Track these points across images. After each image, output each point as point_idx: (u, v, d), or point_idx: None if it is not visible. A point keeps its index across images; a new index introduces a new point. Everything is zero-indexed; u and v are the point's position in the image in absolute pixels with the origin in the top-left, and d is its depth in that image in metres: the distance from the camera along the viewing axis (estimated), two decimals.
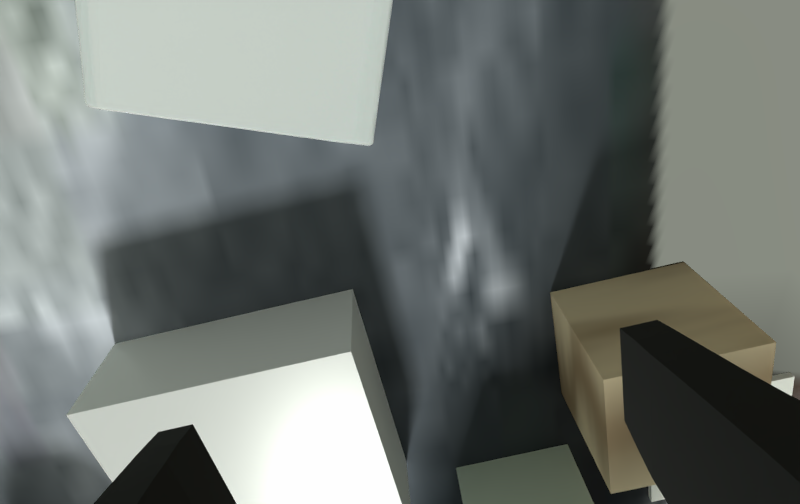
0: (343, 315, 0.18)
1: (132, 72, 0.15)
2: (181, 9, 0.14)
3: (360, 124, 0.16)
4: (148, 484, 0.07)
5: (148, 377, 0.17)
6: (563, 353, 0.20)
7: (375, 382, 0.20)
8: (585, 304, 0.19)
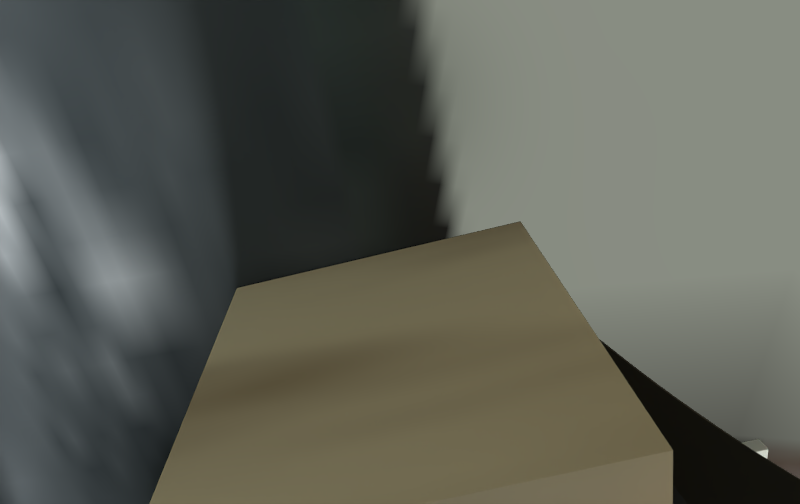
0: None
1: None
2: None
3: None
4: None
5: None
6: None
7: None
8: (275, 317, 0.08)
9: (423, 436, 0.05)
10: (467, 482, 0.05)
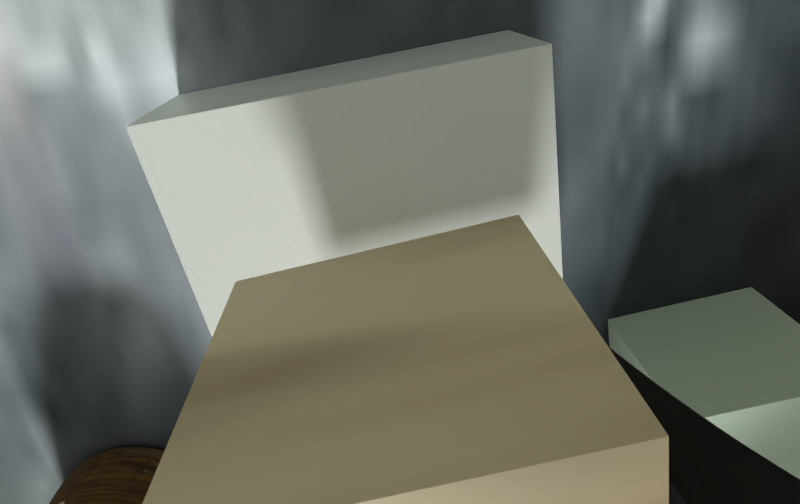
0: (512, 37, 0.13)
1: None
2: None
3: None
4: None
5: (240, 96, 0.12)
6: None
7: None
8: (273, 310, 0.08)
9: (420, 422, 0.05)
10: (464, 469, 0.05)
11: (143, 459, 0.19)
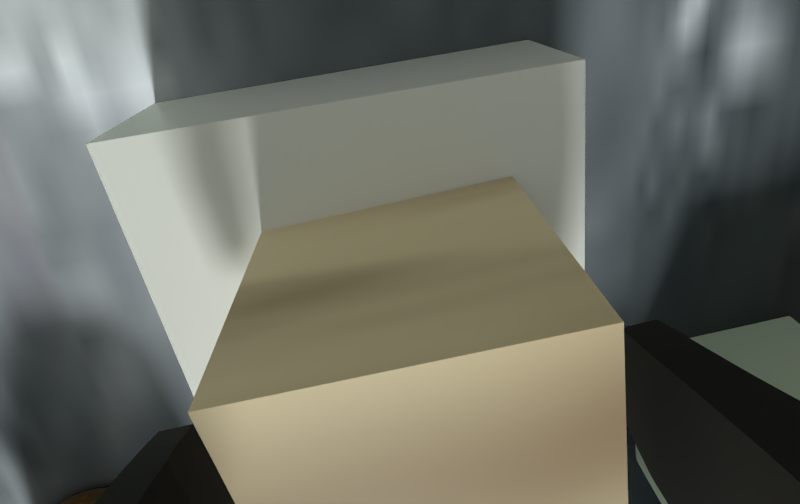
0: (535, 48, 0.11)
1: None
2: None
3: None
4: (148, 484, 0.07)
5: (223, 110, 0.11)
6: None
7: None
8: (298, 250, 0.09)
9: (427, 321, 0.07)
10: (462, 349, 0.06)
11: None
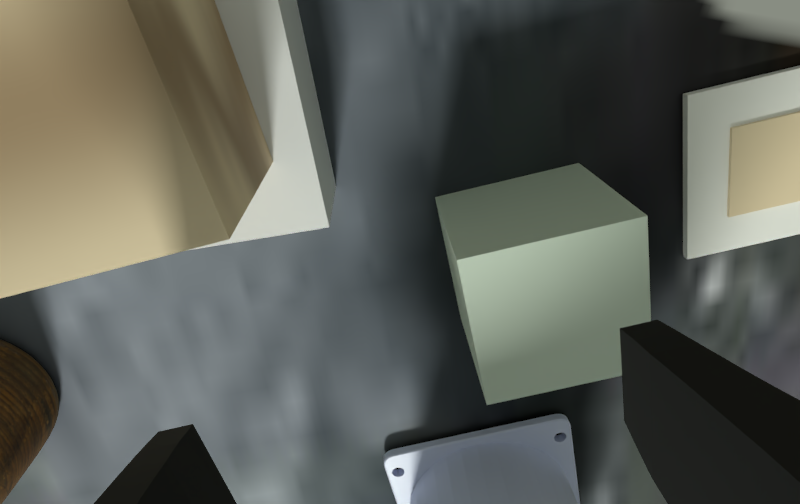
0: None
1: None
2: None
3: None
4: (148, 484, 0.07)
5: None
6: None
7: None
8: None
9: None
10: None
11: None
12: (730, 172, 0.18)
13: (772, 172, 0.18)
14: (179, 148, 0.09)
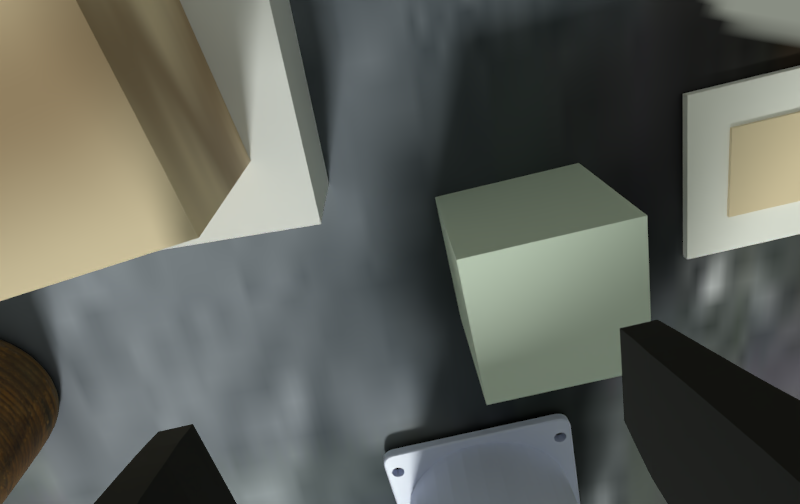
0: None
1: None
2: None
3: None
4: (148, 484, 0.07)
5: None
6: None
7: None
8: None
9: None
10: None
11: None
12: (730, 172, 0.18)
13: (772, 172, 0.18)
14: (140, 148, 0.09)
